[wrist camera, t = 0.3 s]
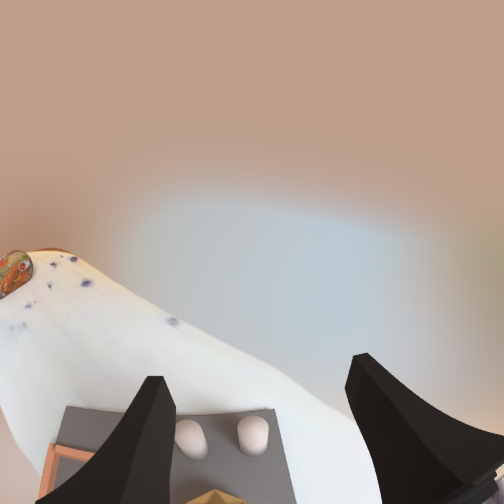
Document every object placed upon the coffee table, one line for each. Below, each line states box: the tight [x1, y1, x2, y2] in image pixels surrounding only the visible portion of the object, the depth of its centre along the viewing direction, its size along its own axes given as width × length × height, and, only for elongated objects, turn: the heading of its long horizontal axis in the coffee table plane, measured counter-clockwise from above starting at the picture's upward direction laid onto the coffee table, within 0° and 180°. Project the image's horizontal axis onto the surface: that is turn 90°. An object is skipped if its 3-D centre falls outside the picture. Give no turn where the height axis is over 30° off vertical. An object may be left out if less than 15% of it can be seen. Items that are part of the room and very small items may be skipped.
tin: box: [0, 251, 33, 299], centre depth 47 cm, size 15×3×8 cm, turn 154°
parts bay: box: [38, 443, 95, 500], centre depth 14 cm, size 13×8×1 cm, turn 7°
